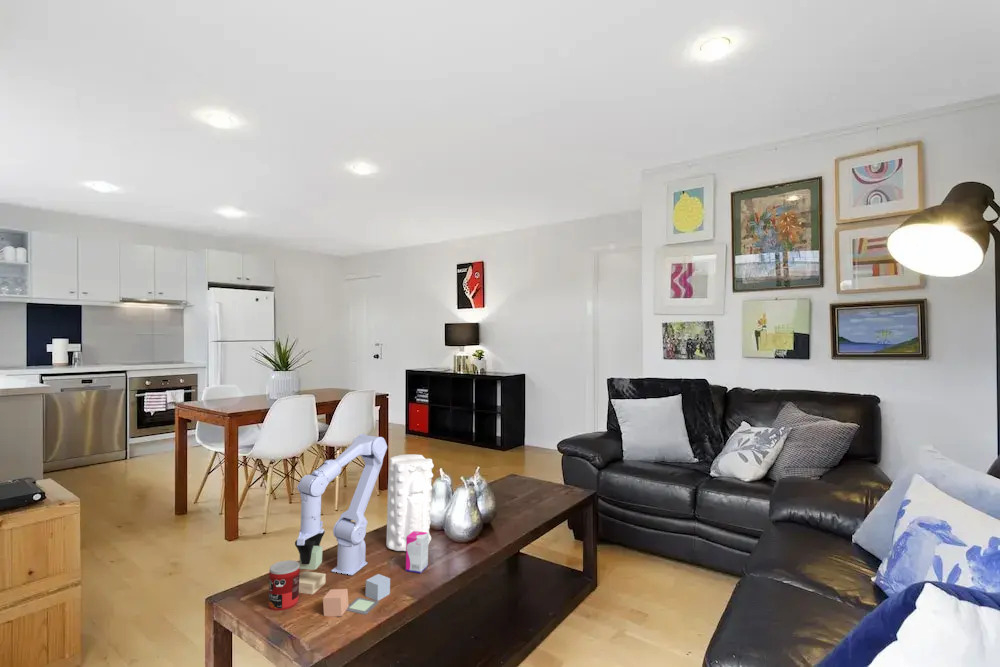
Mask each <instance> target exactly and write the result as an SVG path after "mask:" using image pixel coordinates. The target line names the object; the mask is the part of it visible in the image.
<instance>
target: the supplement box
mask: <svg viewBox="0 0 1000 667" xmlns="http://www.w3.org/2000/svg"><path fill="white" fill-rule="evenodd" d="M429 534H430V532H429V533H427V532H419V531H413V532H412V533H411V534H409V535H408V536H407V539H406V551H405V554H406V555H405V572H409V573H410V572H411V573H415V574H422V573H423V572H424V571H425V570H426V569H427V568H428V567H427V566H429V544H428V538H429Z"/></svg>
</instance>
